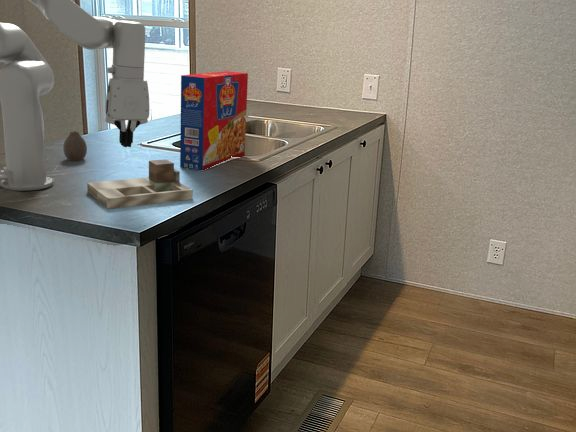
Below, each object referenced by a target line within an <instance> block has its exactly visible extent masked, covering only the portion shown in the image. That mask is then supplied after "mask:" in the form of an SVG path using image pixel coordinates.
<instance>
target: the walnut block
mask: <svg viewBox="0 0 576 432" xmlns="http://www.w3.org/2000/svg"><path fill="white" fill-rule="evenodd" d="M174 169H175V162H172V161H170V160H169V159H155V160H153V159H151V160H148V177H149V179H150V180H152V181H153V182H155V183H165V182H174Z"/></svg>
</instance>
